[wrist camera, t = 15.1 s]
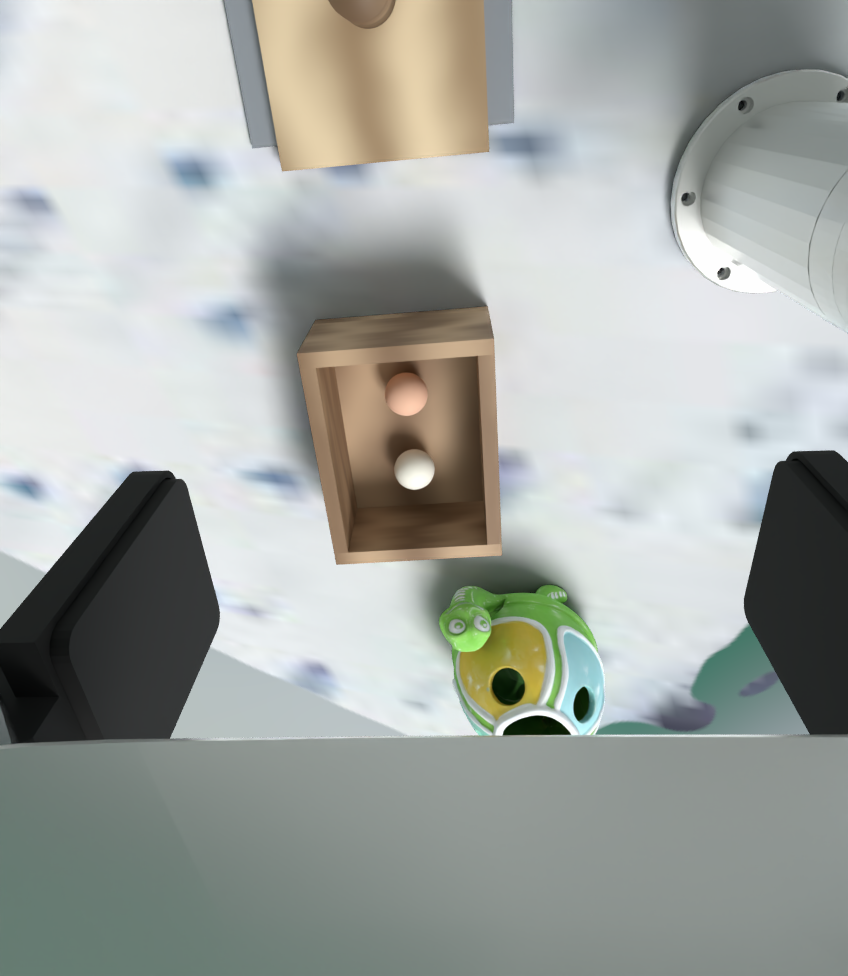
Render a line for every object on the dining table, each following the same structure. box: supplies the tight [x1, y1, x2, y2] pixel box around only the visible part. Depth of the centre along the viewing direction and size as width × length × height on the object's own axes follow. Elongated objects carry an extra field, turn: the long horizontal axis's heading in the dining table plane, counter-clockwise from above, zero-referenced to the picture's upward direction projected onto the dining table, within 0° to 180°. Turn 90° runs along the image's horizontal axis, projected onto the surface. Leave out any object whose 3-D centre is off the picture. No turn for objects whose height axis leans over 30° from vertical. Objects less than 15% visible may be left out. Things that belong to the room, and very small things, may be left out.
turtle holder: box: [439, 585, 605, 736], centre depth 56 cm, size 12×18×12 cm
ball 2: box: [394, 449, 435, 490], centre depth 51 cm, size 3×3×3 cm
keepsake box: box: [297, 306, 502, 565], centre depth 48 cm, size 12×16×7 cm
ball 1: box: [385, 373, 428, 416], centre depth 48 cm, size 3×3×3 cm
